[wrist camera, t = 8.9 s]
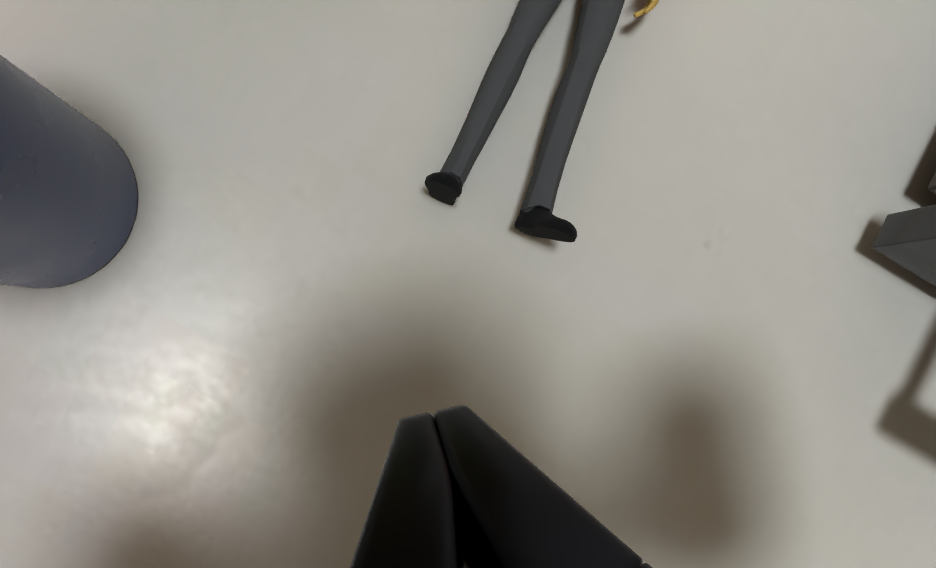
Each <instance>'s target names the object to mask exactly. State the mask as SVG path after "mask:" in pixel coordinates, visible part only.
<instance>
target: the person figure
mask: <svg viewBox="0 0 936 568" xmlns="http://www.w3.org/2000/svg"><path fill="white" fill-rule="evenodd" d="M560 1H561V0H520V1H519V3H518V6H517V8H516V10H515V12H514V15H513V17H512V19H511V22H510V25H509V28H508V30H507V32H506V34H505V35H504V37H503V39H502V41H501V43H500V45H499V47H498V49H497V51H496V53H495V55H494V57H493V58H492V60H491V62H490V64H489V67H488V69H487V71H486V73H485V75H484V78H483V80H482V82H481V85H480V87H479V89H478V92H477V94H476V97H475V99H474V102H473V104H472V106H471V109H470V111H469V113H468V116H467V118H466V120H465V123H464V125H463V127H462V129H461V131H460V133H459V136H458V138H457V140H456V142H455V144H454V146H453V148H452V151H451V153H450V154H449V156H448V158H447V160H446V162H445V164H444V166H443V167H442V169H441V171H440V172H437V173H432V174H431V175H429V176H427V177H426V180H425V185H426V187H427V188H428V190H429V194H430V195H431V196H432V197H434V198H436V199H437V200H439V201H442V202H444V203H447V204H450V205H453V204H454V203H455V200H456V198H457V197H459V196H460V194H461V193H462V186H463V184H464V182H465V180H466V178H467V176H468V174H469V172H470V170H471V168H472V166H473V164H474V162H475V160H476V159H477V157H478V155H479V153H480V151H481V149H482V148H483V146H484V144H485V142H486V140H487V139H488V137H489V135H490V133H491V131H492V129H493V127H494V126H495V124H496V122H497V120H498V118H499V116H500V114H501V112H502V111H503V109H504V107H505V105H506V103H507V101H508V100H509V98H510V96H511V94H512V92H513V90H514V88H515V86H516V84H517V81H518V79H519V77H520V75H521V73H522V70H523V68H524V65H525V63H526V61H527V58H528V56H529V53H530V51H531V49H532V47H533V45H534V43H535V42H536V40H537V38H538V37H539V35H540V33H541V32H542V30H543V28H544V27H545V25H546V24H547V22H548V20H549V19H550V17H551V16H552V14H553V12H554V11H555V9H556V8H557V6H558V4H559V3H560ZM624 1H625V0H583V1H582V6H581V11H580V16H579V20H578V25H577V29H576V34H575V38H574V43H573V47H572V52H571V57H570V60H569V63H568V66H567V69H566V71H565V73H564V75H563V77H562V80H561V82H560V85H559V87H558V89H557V92H556V94H555V97H554V100H553V103H552V107H551V110H550V113H549V116H548V119H547V123H546V126H545V129H544V132H543V136H542V140H541V143H540V147H539V151H538V155H537V159H536V163H535V166H534V170H533V174H532V177H531V180H530V184H529V187H528V190H527V193H526V195H525V198H524V201H523V204H522V207H521V210H520V214H519V216H518V218H517V220H516V222H515V228H516V229H518V230H519V231H521V232H523V233H525V234H528V235H531V236H534V237H539V238H546V239H553V240H558V241H564V242H574V241H575V239H576V237H577V231H576V229H575V227H574V226H573V225H572V224H571V223H570V222H568V221H566V220H564V219H561V218H558V217H556V216H554V215H553V214H552V211H553V207H554V203H555V198H556V194H557V190H558V187H559V183H560V180H561V176H562V173H563V169H564V166H565V163H566V159H567V156H568V153H569V151H570V148H571V145H572V142H573V139H574V136H575V133H576V131H577V128H578V125H579V122H580V119H581V117H582V114H583V111H584V108H585V105H586V102H587V99H588V97H589V94H590V91H591V88H592V85H593V82H594V80H595V77H596V74H597V72H598V69H599V67H600V64H601V62H602V60H603V58H604V56H605V53H606V51H607V48H608V46H609V43H610V41H611V38H612V36H613V33H614V30H615V27H616V25H617V22H618V19H619V16H620V13H621V10H622V7H623V4H624ZM658 2H659V0H648V1H647V4H646V6H645V7H644V8H643V9H641V10H640V11H638V12H635V13H633V16H634V17H638V16H641V15H644V14H646V13H648V12H650V11H651V10H652V9H653V8H654V7H655V6H656V5H657V3H658Z"/></svg>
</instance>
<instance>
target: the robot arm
mask: <svg viewBox="0 0 936 568" xmlns="http://www.w3.org/2000/svg"><path fill="white" fill-rule="evenodd" d="M350 568H652V567H651V566H650V565H649V564H647V563H644V564H643V561H642V559H641V558H640V557H639V556H638V555H637V554H636V553H635V552H633V551H632V550H631V549H630V548H629V547H628V546H627V545H625V544H624V543H623V542H622V541H621V540H620V539H619V538H617V537H616V536H615V535H614V534H613V533H612V532H610V531H609V530H608V529H607V528H606V527H605V526H604V525H602V524H601V523H600V522H599V521H598V520H597V519H596V518H594V517H593V516H592V515H591V514H590V513H589V512H588V511H586V510H585V509H584V508H583V507H582V506H581V505H579V504H578V503H577V502H576V501H575V500H574V499H573V498H571V497H570V496H569V495H568V494H567V493H566V492H565V491H563V490H562V489H561V488H560V487H559V486H558V485H557V484H555V483H554V482H553V481H552V480H551V479H550V478H548V477H547V476H546V475H545V474H544V473H543V472H542V471H540V470H539V469H538V468H537V467H536V466H535V465H534V464H532V463H531V462H530V461H529V460H528V459H527V458H526V457H524V456H523V455H522V454H521V453H520V452H519V451H517V450H516V449H515V448H514V447H513V446H512V445H511V444H509V443H508V442H507V441H506V440H505V439H504V438H503V437H501V436H500V435H499V434H498V433H497V432H496V431H495V430H493V429H492V428H491V427H490V426H489V425H488V424H486V423H485V422H484V421H483V420H482V419H481V418H480V417H478V416H477V415H476V414H475V413H474V412H473V411H472V410H470V409H469V408H468V407H467V406H464V405H459V406H455V407H450V408H445V409H441V410H437V411H436V412H435V413H434V416H432V415H431V414H430V413H422V414H418V415H413V416H409V417H404V418H402V419H400V420H399V422H398V424H397V427H396V430H395V433H394V436H393V439H392V442H391V445H390V448H389V451H388V454H387V457H386V460H385V463H384V466H383V469H382V472H381V475H380V479H379V482H378V485H377V488H376V491H375V494H374V497H373V500H372V503H371V506H370V509H369V512H368V515H367V518H366V521H365V524H364V527H363V530H362V533H361V536H360V539H359V542H358V545H357V548H356V551H355V554H354V557H353V560H352V563H351V566H350Z"/></svg>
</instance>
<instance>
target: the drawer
mask: <svg viewBox="0 0 936 568" xmlns="http://www.w3.org/2000/svg"><path fill="white" fill-rule="evenodd" d="M928 189H929V190H930V191H931V192H933V193H935V194H936V172H935V174H934V176H933V178H932V180H931V182H930V184H929V186H928ZM872 248H873V249H874V250H876V251H878V252H879V253H881V254H883V255H884V256H886V257H888V258H889V259H891V260H893V261H894V262H896V263H897V264H899V265H901V266H902V267H904V268H906V269H907V270H909V271H911V272H912V273H914V274H916V275H917V276H919V277H921V278H922V279H924V280H925V281H927V282H929V283H930V284H932V285H934V286H935V287H936V205H932V206H927V207H922V208H918V209H913V210H908V211H903V212H899V213H894V214H889V215H888V216H887V217H886V219H885V221H884V223H883V225H882V227H881V229H880V231H879V233H878V235H877V237H876V239H875V241H874V243H873V245H872Z"/></svg>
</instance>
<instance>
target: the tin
mask: <svg viewBox="0 0 936 568" xmlns="http://www.w3.org/2000/svg"><path fill="white" fill-rule="evenodd" d="M136 209H137V186H136V180H135V177H134V173H133V170H132V167H131V165H130V162H129V160H128V159H127V157H126V155H125V153H124V152H123V150H122V149H121V147H120V146H119V145H118V144H117V142H116V141H115V140H114V139H113V138H112V137H111V136H110V135H109V134H108V133H107V132H106V131H104V130H103V129H102V128H100V127H99V126H98V125H96V124H95V123H94V122H92V121H91V120H89V119H88V118H87V117H85V116H84V115H83V114H81V113H80V112H78V111H77V110H76V109H74V108H73V107H71V106H70V105H69V104H67V103H66V102H65V101H63V100H62V99H60V98H59V97H58V96H56V95H55V94H54V93H52V92H51V91H49V90H48V89H47V88H45V87H44V86H43V85H41V84H40V83H38V82H37V81H36V80H34V79H33V78H32V77H30V76H29V75H27V74H26V73H25V72H23V71H22V70H20V69H19V68H18V67H16V66H15V65H14V64H12V63H11V62H9V61H8V60H7V59H5V58H4V57H3V56H1V55H0V284H2V285H11V286H20V287H29V288H51V287H59V286H63V285H67V284H71V283H74V282H77V281H79V280H82V279H84V278H86V277H88V276H90V275H92V274H94V273H95V272H96V271H98V270H99V269H101V268H102V267H104V266H105V265H106V264H107V263H108V262H109V261H110V260H111V259H112V258H113V257H114V256H115V255H116V254H117V252H118V251H119V250H120V249H121V247H122V246H123V244H124V243H125V241H126V239H127V238H128V235H129V233H130V231H131V229H132V226H133V223H134V219H135V215H136Z"/></svg>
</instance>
